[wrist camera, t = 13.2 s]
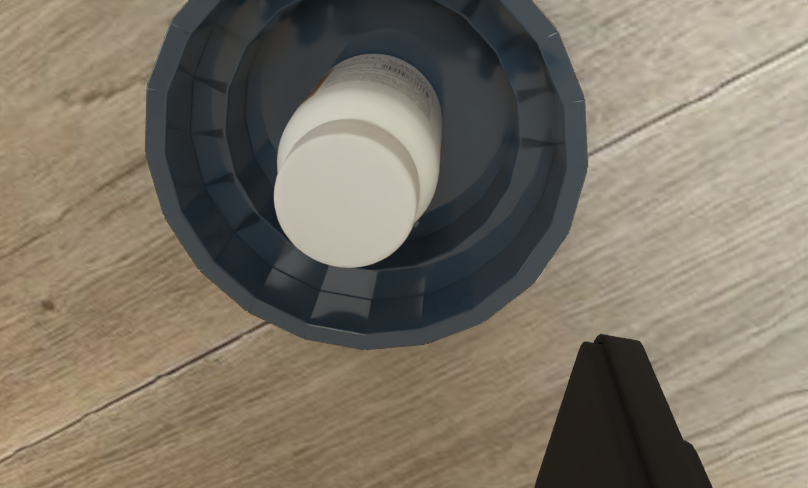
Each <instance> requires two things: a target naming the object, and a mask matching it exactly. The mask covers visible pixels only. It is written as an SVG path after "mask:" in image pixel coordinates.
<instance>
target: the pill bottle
mask: <svg viewBox="0 0 808 488" xmlns="http://www.w3.org/2000/svg"><path fill="white" fill-rule="evenodd" d="M442 125H443V123H442V112H441V107H440V103H439V99H438V97H437V95H436V92H435V91H434V89H433V87H432V86H431V84H430V83H429V81H428V80H427V79H426V78H425V77H424V76H423V74H422V73H421V72H419V71H418V70H417V69H416V68H415V67H413V66H412V65H410V64H408V63H407V62H405V61H403V60H401V59H399V58H396V57H393V56H389V55H384V54H364V55H358V56H354V57H352V58H349V59H346V60H344V61H342V62H341V63H339V64H337V65H335V66H334V67H333V68H331V69H330V70H329V71H328V72H327V73H326V74H325V75H324V76H323V77H322V79H321V80H320V81H319V82H318V84H317V85H316V86H315V87H314V89H313V90H312V91H311V92H310V94H309V95H308V96H307V98H306V99H305V100H304V101H303V102H302V103H301V105H300V106H299V107H298V109H297V110H296V111H295V112H294V114H293V116H292V117H291V119H290V121H289V122H288V124H287V126H286V128H285V130H284V132H283V134H282V137H281V140H280V144H279V148H278V155H277V171H278V175H277V178H276V182H275V188H274V205H275V210H276V214H277V218H278V221H279V223H280V225H281V227H282V229H283V231H284V233H285V234H286V235H287V237H288V238H289V239H290V241H291V242H292V243H293V244H294V245H295V246H296V247H297V248H298V249H299V250H301V251H302V252H303V253H304V254H306V255H307V256H309V257H311V258H313V259H314V260H317V261H319V262H321V263H324V264H328V265H331V266H336V267H344V268H355V267H363V266H367V265H371V264H374V263H376V262H378V261H380V260H382V259H384V258H386V257H388V256H389V255H391V254H392V253H393V252H394V251H396V250H397V249H398V248H399V247H400V246H401V245H402V243H403V242H404V241H405V240H406V238H407V237H408V235H409V233H410V231H411V230H412V227H413V225H414V223H415V222H416V221H417V220H418V219H419V218H420V217H421V216H422V214H423V213H424V212H425V210H426V209H427V207H428V206H429V204H430V202H431V200H432V198H433V195H434V193H435V190H436V187H437V182H438V176H439V166H440V151H441V140H442Z"/></svg>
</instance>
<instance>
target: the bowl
mask: <svg viewBox="0 0 808 488" xmlns="http://www.w3.org/2000/svg"><path fill="white" fill-rule="evenodd" d="M364 54H384V55H389V56H393V57H396V58H399V59H401V60H403V61H405V62H407V63H408V64H410V65H412V66H413V67H415V68H416V69H417V70H418V71H419V72H421V73H422V74H423V76H424V77H425V78H426V79H427V80H428V81H429V83H430V84H431V86H432V87H433V89H434V91H435V92H436V95H437V97H438V99H439V103H440V107H441V112H442V123H443V125H442V140H441V151H440V166H439V176H438V182H437V187H436V190H435V193H434V195H433V198H432V200H431V202H430V204H429V206H428V207H427V209H426V210H425V212H424V213H423V214H422V216H421V217H420V218H419V219H418V220H417V221H416V222H415V223H414V225H413V227H412V230H411V231H410V233H409V235H408V237H407V238H406V240H405V241H404V242H403V243H402V245H401V246H400V247H399V248H398V249H397V250H396V251H394V252H393V253H392V254H391V255H389V256H388V257H386V258H384V259H382V260H380V261H378V262H376V263H374V264H371V265H367V266H363V267H355V268H344V267H336V266H331V265H328V264H324V263H321V262H319V261H317V260H314V259H313V258H311V257H309V256H307V255H306V254H304V253H303V252H302V251H301V250H299V249H298V248H297V247H296V246H295V245H294V244H293V243H292V242H291V241H290V239H289V238H288V237H287V235H286V234H285V233H284V231H283V229H282V227H281V225H280V223H279V221H278V218H277V214H276V210H275V205H274V188H275V182H276V178H277V175H278V171H277V155H278V148H279V144H280V140H281V137H282V134H283V132H284V130H285V128H286V126H287V124H288V122H289V121H290V119H291V117H292V116H293V114H294V112H295V111H296V110H297V109H298V107H299V106H300V105H301V103H302V102H303V101H304V100H305V99H306V98H307V96H308V95H309V94H310V92H311V91H312V90H313V89H314V87H315V86H316V85H317V84H318V82H319V81H320V80H321V79H322V77H323V76H324V75H325V74H326V73H327V72H328V71H329V70H330V69H331V68H333V67H334V66H335V65H337V64H339V63H341V62H342V61H344V60H346V59H349V58H352V57H354V56H358V55H364ZM147 86H148V87H147V92H146V130H145V153H146V159H147V162H148V166H149V169H150V172H151V176H152V179H153V182H154V186H155V189H156V193H157V196H158V199H159V203H160V206H161V210H162V213H163V215H164V216H165V219H166V221H167V223H168V224H169V226H170V227H171V229H172V230H173V232H174V233H175V235H176V236H177V238H178V239H179V241H180V242H181V244H182V245H183V247H184V248H185V250H186V251H187V253H188V255H189V256H190V258H191V259H192V261H193V262H194V264H195V265H196V267H197V268H198V269H200V272H201V273H202V274H204V275H205V276H206V277H207V278H208V279H209V280H211V281H212V282H213V283H214V284H215V285H216V286H218V287H219V288H220V289H221V290H222V291H223V292H224V293H226V294H227V295H228V296H229V297H230V298H231V299H233V300H234V301H235V302H236V303H237V304H238V305H240V306H241V307H242V308H243V309H244V310H245V311H248V312H249V313H250V314H252V315H254V316H256V317H259V318H261V319H263V320H265V321H267V322H269V323H271V324H273V325H275V326H277V327H280V328H282V329H284V330H286V331H288V332H290V333H292V334H294V335H296V336H298V337H301V338H304V339H305V340H311V341H316V342H322V343H327V344H333V345H338V346H344V347H349V348H355V349H360V350H364V349H365V350H371V349H382V348H394V347H405V346H416V345H424V344H429V343H432V342H434V341H437V340H439V339H442V338H445V337H447V336H450V335H452V334H455V333H458V332H460V331H463V330H465V329H468V328H471V327H473V326H476V325H478V324H481V323H482V322H483V321H486V320H488V319H489V318H490V317H491V316H493V315H494V314H495V313H497V312H498V311H499V310H500V309H502V308H503V307H504V306H506V305H507V304H508V303H509V302H511V301H512V300H513V299H515V298H516V297H517V296H519V295H520V294H521V293H522V292H524V291H525V290H526V289H528V288H529V287H530V286H531V285H532V284H534V283H535V281H536V280H537V278H538V277H539V275H540V274H541V272H542V271H543V270H544V268H545V267H546V265H547V264H548V262H549V261H550V259H551V258H552V257H553V255H554V254H555V252H556V251H557V249H558V248H559V246H560V245H561V244H562V242H563V241H564V239H565V238H566V236H567V235H568V233H569V230H570V228H571V225H572V221H573V218H574V215H575V211H576V208H577V204H578V201H579V197H580V194H581V191H582V187H583V184H584V180H585V177H586V173H587V168H588V151H587V129H586V107H585V99H584V94H583V92H582V89H581V87H580V84H579V82H578V79H577V77H576V74H575V72H574V69H573V67H572V64H571V62H570V59H569V57H568V54H567V52H566V49H565V47H564V44H563V42H562V39H561V36H560V34H559V32H558V30H557V29H556V27H555V26H554V25H553V23H552V22H551V21H550V20H549V19H548V17H547V16H546V15H545V14H544V12H543V11H542V10H541V9H540V8H539V6H538V5H537V4H536V3H535V2H534V1H533V0H188V1H187V3H186V4H185V5H184V6H183V7H182V8H181V10H180V11H179V12H178V13H177V14H176V15H175V17H174V18H173V19H172V22H170V25H169V27H168V30H167V33H166V35H165V38H164V40H163V43H162V46H161V48H160V51H159V54H158V56H157V59H156V62H155V64H154V67H153V70H152V72H151V75H150V78H149V80H148V83H147Z"/></svg>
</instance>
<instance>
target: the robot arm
mask: <svg viewBox="0 0 808 488" xmlns="http://www.w3.org/2000/svg"><path fill="white" fill-rule="evenodd" d="M535 488H712V485H711V483H710V481H709V479H708V476H707V474H706V472H705V470H704V467H703V465H702V463H701V461H700V458H699V456H698V454H697V452H696V450H695V449H694V447H693V446H692V444H690V443H689V442H687V441H684V440H683V438H682V436H681V433H680V431H679V429H678V426H677V424H676V422H675V419H674V417H673V415H672V412H671V410H670V408H669V405H668V403H667V401H666V398H665V396H664V394H663V391H662V389H661V387H660V384H659V382H658V380H657V377H656V375H655V373H654V370H653V368H652V366H651V363H650V361H649V359H648V356H647V354H646V352H645V349H644V347H643V345H642V344H641V342H640V341H637V340H632V339H626V338H620V337H615V336H609V335H603V334H600V335H598V336H597V337H596V339H595V340H594V343H591V342H583V343H582V345H581V346H580V349H579V351H578V355H577V358H576V361H575V364H574V367H573V370H572V373H571V376H570V379H569V382H568V385H567V388H566V391H565V394H564V397H563V400H562V403H561V407H560V410H559V413H558V416H557V419H556V422H555V425H554V428H553V431H552V434H551V437H550V440H549V443H548V446H547V449H546V452H545V455H544V459H543V462H542V465H541V468H540V471H539V474H538V477H537V480H536V484H535Z"/></svg>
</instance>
